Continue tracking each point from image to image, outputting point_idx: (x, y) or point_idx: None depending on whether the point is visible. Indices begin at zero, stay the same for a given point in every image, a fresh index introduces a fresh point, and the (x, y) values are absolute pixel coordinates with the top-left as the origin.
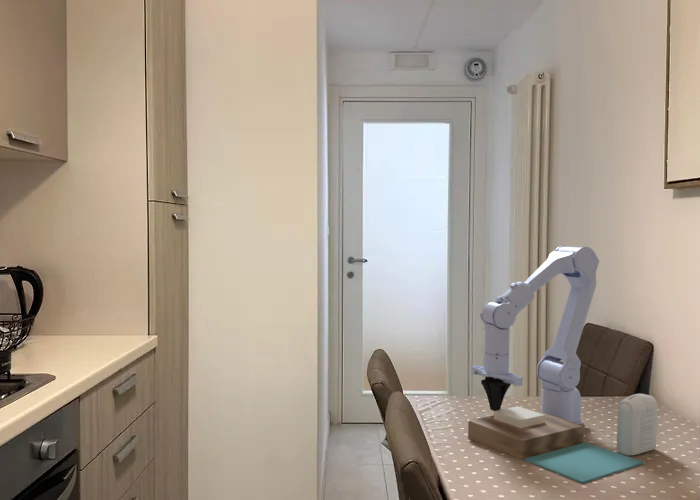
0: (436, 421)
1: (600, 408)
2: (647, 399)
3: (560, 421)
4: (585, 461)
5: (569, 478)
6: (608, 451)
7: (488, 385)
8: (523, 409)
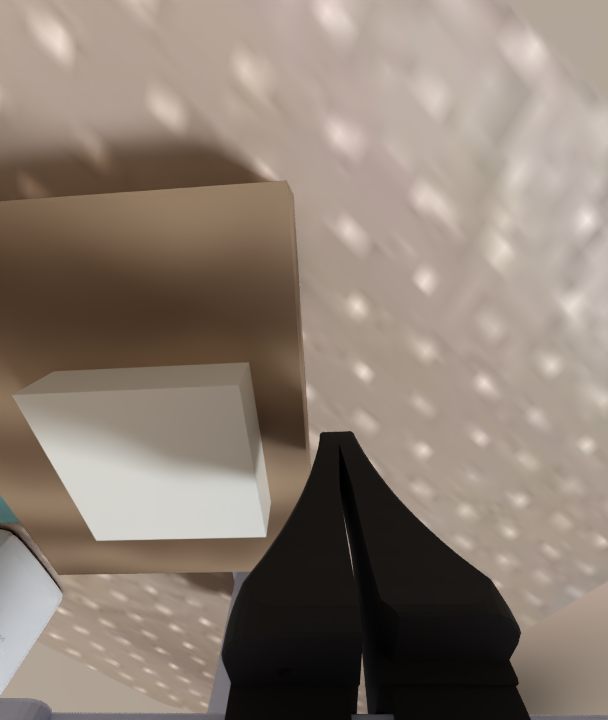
0: (593, 228)
1: None
2: None
3: (121, 552)
4: None
5: None
6: (3, 514)
7: (374, 579)
8: (207, 525)
